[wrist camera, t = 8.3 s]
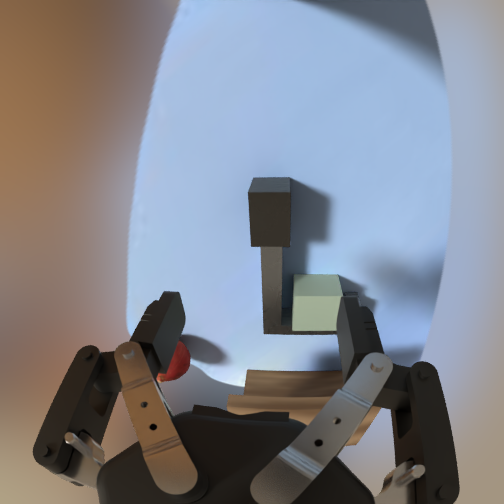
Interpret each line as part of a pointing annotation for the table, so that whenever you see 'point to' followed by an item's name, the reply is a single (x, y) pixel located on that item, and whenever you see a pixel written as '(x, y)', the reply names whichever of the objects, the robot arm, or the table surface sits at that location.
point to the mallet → (274, 249)
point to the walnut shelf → (293, 395)
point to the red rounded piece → (177, 364)
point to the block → (315, 302)
